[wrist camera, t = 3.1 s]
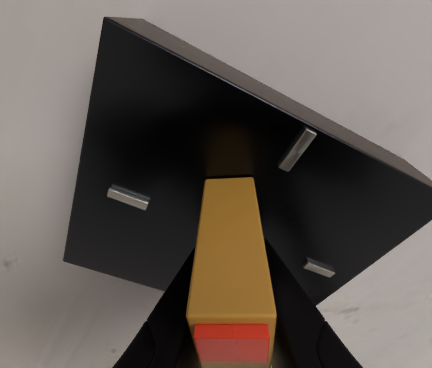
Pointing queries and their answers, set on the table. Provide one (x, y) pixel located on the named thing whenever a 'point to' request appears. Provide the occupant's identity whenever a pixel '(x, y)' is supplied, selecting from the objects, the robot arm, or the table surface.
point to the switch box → (231, 280)
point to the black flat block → (225, 168)
